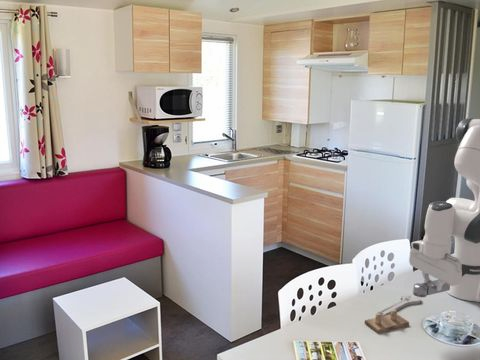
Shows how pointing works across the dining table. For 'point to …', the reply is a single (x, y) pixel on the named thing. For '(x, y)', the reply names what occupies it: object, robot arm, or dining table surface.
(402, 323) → the peg rack
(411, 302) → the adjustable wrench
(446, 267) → the robot arm
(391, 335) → the dining table surface
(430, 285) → the gray flashlight
